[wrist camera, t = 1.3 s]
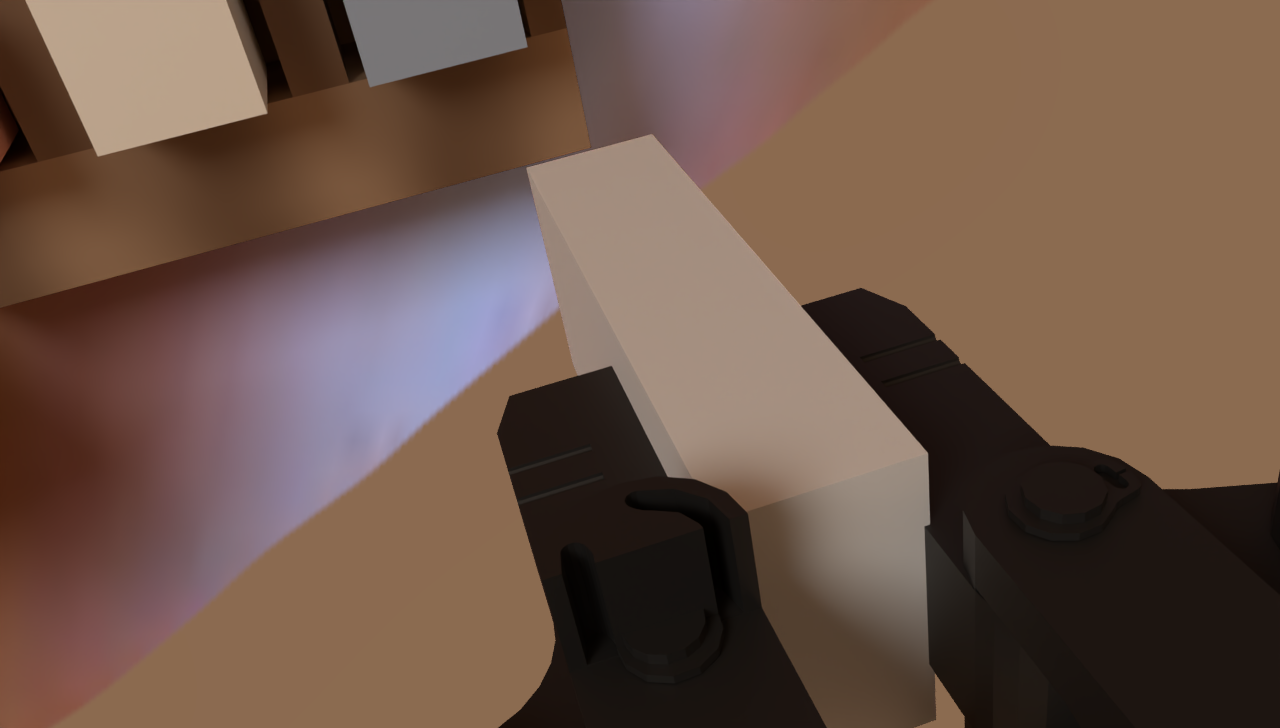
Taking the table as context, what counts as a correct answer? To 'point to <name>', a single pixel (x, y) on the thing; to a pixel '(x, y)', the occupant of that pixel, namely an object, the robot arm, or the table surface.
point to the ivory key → (154, 66)
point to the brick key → (6, 128)
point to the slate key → (430, 34)
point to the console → (265, 146)
